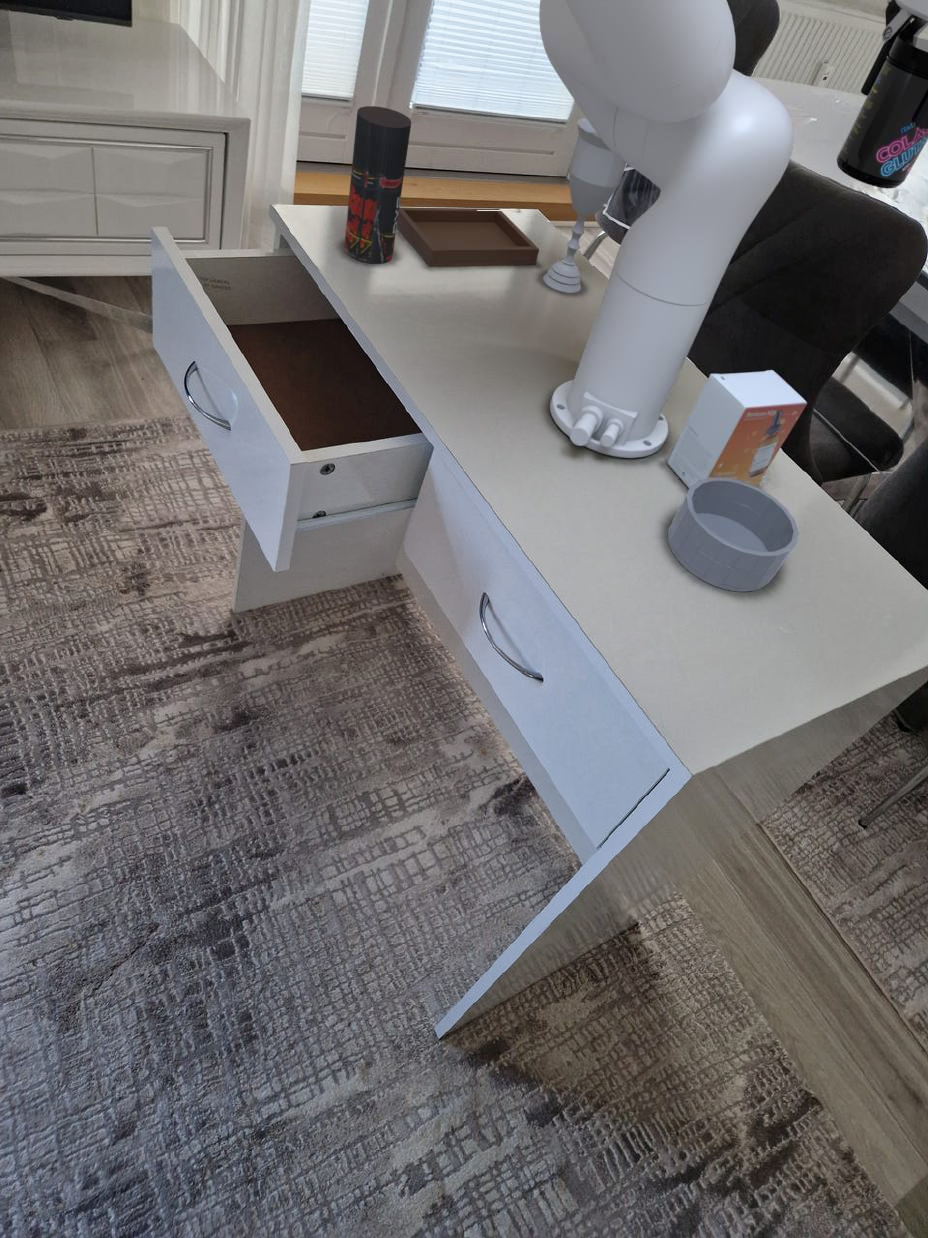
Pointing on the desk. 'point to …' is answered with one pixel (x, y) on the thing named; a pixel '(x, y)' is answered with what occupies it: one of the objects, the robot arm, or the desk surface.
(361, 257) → the deodorant
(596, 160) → the chalice
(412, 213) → the walnut tray
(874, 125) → the supplement container
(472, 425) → the desk surface
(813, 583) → the desk surface
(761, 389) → the small box
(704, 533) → the gray bowl
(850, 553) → the desk surface
